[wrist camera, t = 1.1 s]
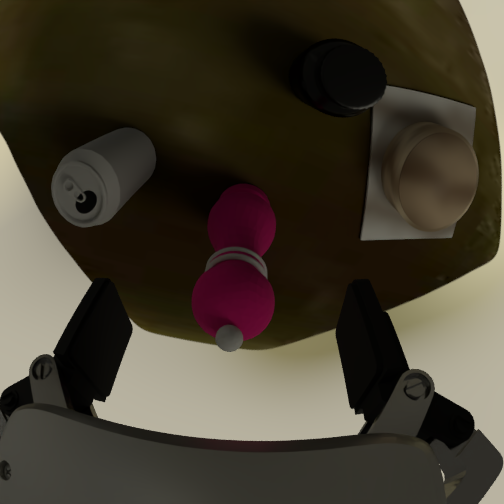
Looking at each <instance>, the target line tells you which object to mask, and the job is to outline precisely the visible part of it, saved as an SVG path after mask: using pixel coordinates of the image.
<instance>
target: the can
mask: <svg viewBox="0 0 504 504" xmlns="http://www.w3.org/2000/svg"><path fill="white" fill-rule="evenodd" d="M155 164H156V154H155V148H154V146H153V144H152V142H151V140H150V139H149V138H148V137H147V136H146V135H145V134H144V133H143V132H141V131H139V130H137V129H135V128H127V127H126V128H121V129H117V130H115V131H113V132H110V133H108V134H106V135H104V136H101V137H99V138H97V139H95V140H93V141H91V142H89V143H87V144H85V145H83V146H81V147H79V148H77V149H75V150H73V151H71V152H70V153H68V154H67V155H66V156H65V157H64V158H63V159H62V160H61V162H60V164H59V166H58V168H57V170H56V172H55V174H54V176H53V179H52V184H51V189H52V197H53V200H54V203H55V206H56V207H57V209H58V211H59V212H60V214H61V215H62V216H63V217H64V218H65V219H66V220H67V221H69V222H70V223H72V224H74V225H76V226H80V227H91V226H93V225H101V224H103V223H105V222H107V221H109V220H110V219H111V218H112V217H113V216H114V215H115V214H116V212H117V211H118V210H119V209H120V208H121V207H122V206H123V205H124V204H125V203H126V202H127V201H128V199H129V198H130V197H131V196H132V195H133V194H134V193H135V192H136V191H137V190H138V189H139V188H140V187H141V186H142V185H143V184H144V183H145V182H146V181H147V180H148V179H149V178H150V177H151V175H152V173H153V171H154V169H155Z"/></svg>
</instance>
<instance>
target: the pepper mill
mask: <svg viewBox="0 0 504 504" xmlns="http://www.w3.org/2000/svg"><path fill="white" fill-rule="evenodd" d="M207 228H208V234H209V238H210V241H211V244H212V245H213V247H214V249H215V251H216V252H215V253H214V254H213V255H212V256H211V257H210V258H209V260H208V262H207V265H206V270H205V273H203V274H202V275H201V277H200V278H199V279H198V280H197V282H196V285H195V287H194V289H193V294H192V309H193V314H194V317H195V319H196V321H197V323H198V324H199V326H200V327H201V328H202V329H203V330H204V331H205V332H206V333H208V334H210V335H211V336H213V337H215V339H216V343H217V345H218V346H219V347H220V348H221V349H222V350H224V351H227V352H231V351H235V350H237V349H238V348H239V347H240V346H241V345H242V342H243V341H244V340H248V339H251V338H253V337H255V336H257V335H258V334H259V333H261V332H262V331H263V330H264V329H265V328H266V327H267V325H268V324H269V322H270V320H271V318H272V315H273V312H274V304H275V302H274V293H273V289H272V286H271V285H270V283H269V281H268V280H267V268H266V265H265V263H264V261H263V260H262V258H261V257H262V255H263V254H264V253H265V252H266V251H267V249H268V248H269V246H270V245H271V243H272V241H273V238H274V235H275V230H276V219H275V215H274V212H273V210H272V208H271V207H270V203H269V200H268V198H267V196H266V194H265V193H264V192H263V191H262V190H261V189H259V188H258V187H256V186H254V185H250V184H236V185H233V186H231V187H229V188H228V189H226V190H225V191H224V192H223V193H222V195H221V196H220V198H219V200H218V201H217V202H216V203H215V205H214V206H213V207H212V209H211V211H210V214H209V218H208V227H207Z"/></svg>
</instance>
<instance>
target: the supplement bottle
mask: <svg viewBox="0 0 504 504" xmlns="http://www.w3.org/2000/svg"><path fill="white" fill-rule="evenodd" d="M386 77H387V76H386V74H385V69H384V68H383V66H382V63H381V62H380V61H379V59H378V58H377V57H375V56H374V54H373V53H371V52H369V51H368V50H367V49H364V48H362V47H360V46H359V45H357V44H355V43H353V42H350V41H347V40H343V39H326V40H322V41H319V42H317V43H315V44H313V45H311V46H310V47H309V48H307V49H306V50H305V51H304V52H302V53H301V54H300V55H299V56H298V57H297V58H296V59H295V60H294V61H293V63H292V65H291V67H290V71H289V82H290V86H291V88H292V90H293V92H294V93H295V95H296V96H297V97H298V98H299V99H300V100H301V101H302V102H304V103H305V104H307V105H309V106H311V107H313V108H315V109H316V110H318V111H320V112H322V113H325V114H327V115H330V116H334V117H352V116H356V115H359V114H361V113H363V112H365V111H366V110H367V109H369V108H370V107H373V106H374V104H377V103H378V101H379V100H381V99H382V96H383V95H384V93H385V90H386V84H387V80H386Z"/></svg>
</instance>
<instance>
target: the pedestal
mask: <svg viewBox="0 0 504 504" xmlns="http://www.w3.org/2000/svg"><path fill="white" fill-rule="evenodd" d="M475 114H476V108H475V107H472V106H469V105H466V104H463V103H459V102H456V101H453V100H449V99H446V98H442V97H438V96H434V95H430V94H426V93H422V92H417V91H413V90H408V89H403V88H397V87H392V86H386V90H385V93H384V95H383V96H382V99H381V100H379V101H378V103H377V104H374V106H373V107H372V125H371V145H370V159H369V171H368V181H367V191H366V199H365V207H364V215H363V222H362V229H361V235H360V240H386V239H420V238H452V235H453V232H454V229H455V225H456V222H457V221H458V220H459V219H460V218H461V217H462V216H463V215H464V213H465V212H466V211H467V209H468V208H469V206H470V204H471V202H472V200H473V198H474V196H475V193H476V189H477V185H478V176H479V171H478V162H477V158H476V155H475V152H474V150H473V148H472V144H473V136H474V126H475Z"/></svg>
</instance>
